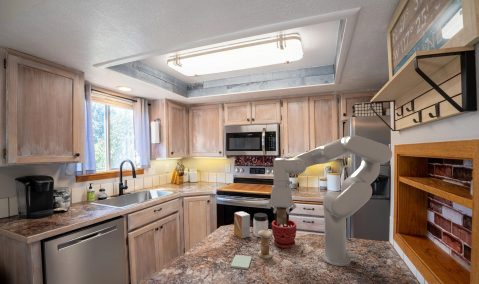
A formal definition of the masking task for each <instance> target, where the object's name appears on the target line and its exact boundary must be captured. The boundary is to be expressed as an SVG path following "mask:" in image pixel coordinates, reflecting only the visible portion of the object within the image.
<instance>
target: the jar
mask: <svg viewBox="0 0 479 284" xmlns="http://www.w3.org/2000/svg"><path fill="white" fill-rule="evenodd" d="M252 221H253V233H252V234H253V235H254V236H255V238H261V237H260V236H258V232H259V231H261V230H268V231H269V220H268V215H267V213H264V212H257V213H254V214H253V220H252Z"/></svg>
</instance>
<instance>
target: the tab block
mask: <svg viewBox="0 0 479 284" xmlns="http://www.w3.org/2000/svg"><path fill="white" fill-rule="evenodd" d="M286 211H287V210H286V208H284V207H277V210H276V212H277V224H280V225H282V224H284V225H286Z"/></svg>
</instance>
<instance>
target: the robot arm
mask: <svg viewBox="0 0 479 284" xmlns="http://www.w3.org/2000/svg"><path fill="white" fill-rule="evenodd" d="M349 155H354V156H355V155H356V156H358V157H361V159H360V160H361V161H360V162H361V163H360V165H359V166H358V168H357V169H356V170H355V171H353V172H352V174H350V175H349V176H348V177H346V179H344V180H343V181H342V182H341V187H340V188H341V191H342V192H341V193H340V192H337V191H330V192H327V193H326V194H325V195H324V196H323V200H322V201H323V202H322V205H323V207H322V208H323V215H324V216H323V217H324V225H323V226H324V251H323V252H322V253H321V256H320V257H321V259H322V260H323V261H324V262H325V263H327V264H329V265H332V266H337V267H347V266H349V265H350V264H351V260H352V259H355V260H358V259H359V255H358V254H357V253H354V252H353V251H348V250H347V249H348V248H347V218H350V217H351V216H353V215H354V214H356V212H357V211H358V210H360V209H361V208H362V207H364V205H365V204H366V203H367V202H369V200H370V199H371V198H372V194H373V188H372V185H371V184H373V182H374V181H376V179H378V177H379V175H380V170H381V164H385V163H388V162H389V161H390V160H392V158H393V151H392V149H391V147H389V146H388V145H387V144H384V143H381V142H378V141H375V140H373V139H370V138H366V137H364V136H359V135H353V134H352V135H347V136H343V137H340V138H339V139H336V140H333V141H331V142H328V143H326V144H323V145H321V146H318V147H316V148H314V149H312V150H309V151H308V150H307V152H303V153H301V154H298V155H296V156H294V157H291V158H286V157H276V158H274V159H273V185H272V186H271V191H270V199H269V201H268V202H267V204H266V207H267V208H269V209H270V211H272V212H273V213H272V214H273V220H274V221H275V222H276V221H277V207H284V208H286V222H288V220H290V213H291V212H292V211H294V210H295V209H297V205H296V203H295V201H294V200H293V194H292V188H291V186H290V185H293V181H291V180H290V174H295V175H300V174H301V175H302V174H303V173H305V171H306V170H307V168H309V167H312V166H317V165H323V164H325V165H326V164H328V163H333V162H334V161H335V160H339V159H341V158H344V157H347V156H349Z"/></svg>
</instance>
